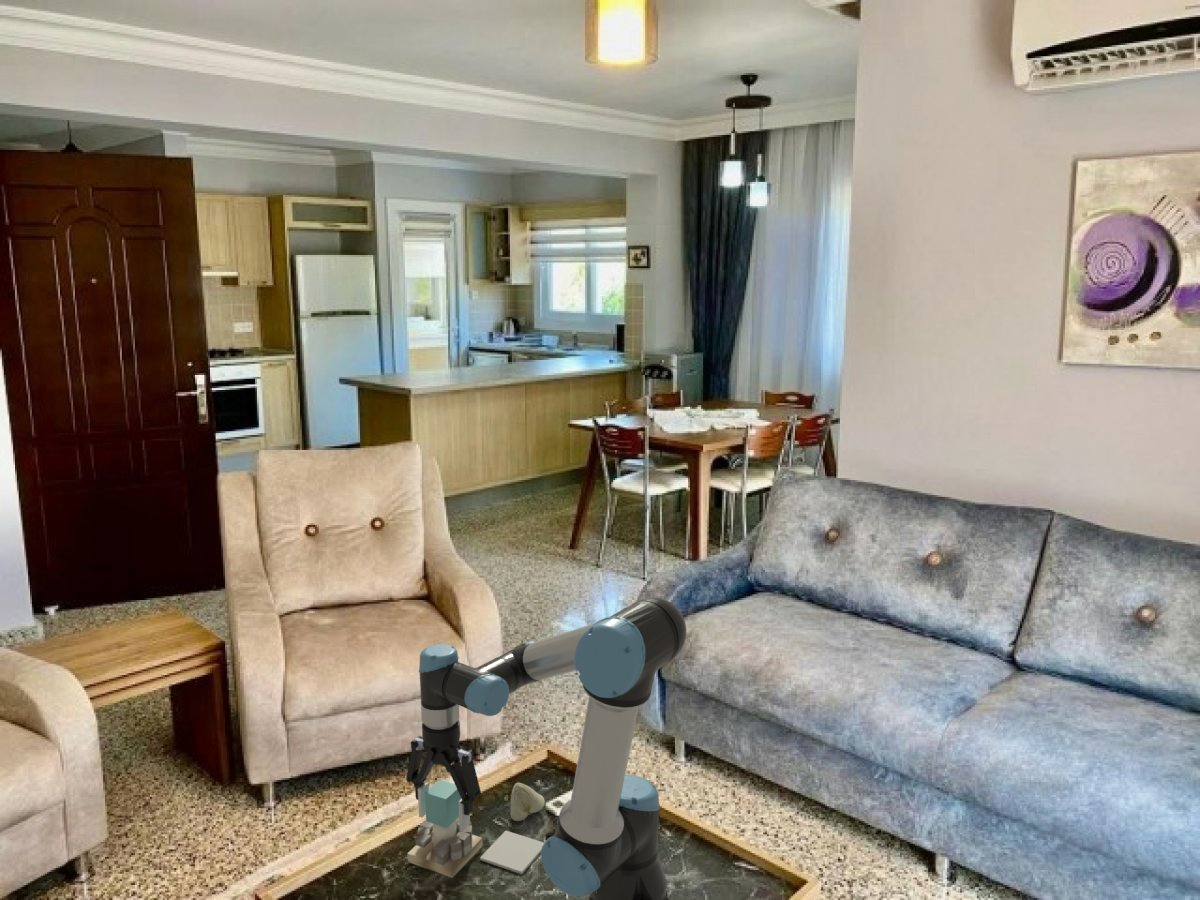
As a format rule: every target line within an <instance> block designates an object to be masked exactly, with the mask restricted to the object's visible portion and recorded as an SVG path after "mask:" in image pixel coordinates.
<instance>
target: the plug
mask: <svg viewBox="0 0 1200 900" xmlns="http://www.w3.org/2000/svg"><path fill="white" fill-rule="evenodd" d="M461 799H462V798H461V796H460V794H459V792H458V790H457V788H456V785H455V783H454V782H453V783H452V782H450V781H446V780H443V779H439V780H438V781H437V782H435V783H434V784H433V785H432V786H430V787H429V790H427V791H426V792H425V806H426V815H425V820H426V821H427V822H430V823H433V832H431V833H430V835H431V836H432V841H431V843H433V844H434V846H435V845H436V844H437V843H438V842H440V841H441V840H442V839H443V840H446V839H449V838H451V837H454V836H456V835H457V829H456V819H457V818H458V817H459V801H460V800H461ZM434 849H435V848H434Z"/></svg>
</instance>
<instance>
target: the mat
mask: <svg viewBox="0 0 1200 900" xmlns="http://www.w3.org/2000/svg"><path fill="white" fill-rule="evenodd" d="M544 843H545V842H543V841H539V840H538V839H537V840H536V839H534V838H530V837H527V836H524V835H521V834H518V833H515V832H511V831H510V830H509V831H508V830H505V831H504V832H503V833H502V834H501V835H500V836H499V837H498V838H497V839H496V840H495V841H494V842H493V843H492V844H491V845H490V846H489V847H488V849H486V851H485V852H484V853H483V854H482V855H481V856H480V857H479V859H480V860H479V861H482V862H485V863H487V864H491V865H493V866H497V867H499V868H503V869H505V870H508V871H511V872H514V873H517V874H520V875H523V874H524V873H525V872H526V871H527V869H528V868H529V867H530V866H531V864H532V863H533V862H534V861H535V860H536V859H537V857H539V855H541V850H542V846H543V845H544Z"/></svg>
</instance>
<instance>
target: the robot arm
mask: <svg viewBox="0 0 1200 900" xmlns="http://www.w3.org/2000/svg"><path fill="white" fill-rule="evenodd" d="M686 625H687V624H686V621H685V618H684V616H683V614H682V612H681V611H680V610H679V608H678V607H677V606H676V605H675V604H674V603H672V602H670V601H669V600H667V599H664V598H662V597H661V598H660V597H654V596H653V597H645V598H642V599H639V600H637V601H635V602H634V603H632V604H630V605H628V606H627V607H624V608H622V609H621V610H619V611H617V612H615V613H614V614H612V615H610V616H607V617H604V618H602V619H599V620H598V621H596V622H595V623H592V624H588V625H585V626H582V627H578V628H575V629H573V630H569V631H566V632H563V633H560V634H556V635H553V636H550V637H547V638H544V639H541V640H537V641H532V640H531V641H528V642H524V643H522V644H519V645H517V646H514V648H512V649H511V650H508V651H507V652H505V653H502V654H501V655H500V656H498V657H497V656H496V657H495V658H493V659H491V660H489V661H487V662H485V663H483V664H482V665H479V666H477V667H472V666H470V665H467V664H464V663H462V662H460V661H459V655H458V654H459V653H458V650H457V649H456V647H455V646H453V645H451V644H446V643H437V644H432V645H430V646H427V647H425V648H424V649H423V650H422V651H421V652H420V654H419V668H418V673H419V686H420V687H419V688H420V690H419V691H420V710H421V711H420V712H421V714H420V715H421V716H420V717H421V718H420V719H421V722H422V724H421V735H422V736H421V735H418V736H417V737H415V738H414V739H413V740H411V741H410V748H411V753H410V758H409V764H408V768H407V774H406V782H408V783H412V785H413V787H415V789H414V791H415V792H414V793H415V799H416V800H417V802H418V806H417V807H418V817H419V818H424V816H426V806H425V792H426V791H427V790H429V789H430V786H429V785H430V783H429V782H428V781H427V780H428V778H427V777H429V776H428V775H429V773H430V772H431V770H432V768H433V766H434V765H440V766H442V767H444V768H445V770H446V772H447V773H449V774H450V776H451V778H452V781H453V784H455V785H456V788H457V790H458V792H459V794H460V796H461V800H460V801H459V826H460V830H461V831H463V830H464V829H465V828H466V827H467V826H468V825H469V824H470V822H471V814H472V813H473V807H474V806H473V805H474V804H473V802H475V801H476V800H477V799H479V797H480V796H481V795H482V792H481V787H480V784H479V780H478V776H477V772H476V766H475V763H474V751H473V750H472V749H468V750H467V751H466V750H464V749H462V747H461V745H460V739H461V721H460V707H463V708H465V709H466V710H469V711H471V712H473V713H476V714H480V715H484V716H487V717H494V716H497V715H498V714H499V713H501V712H502V709H503V708H504V707H505V706H506V705H507V703H508V700H509V698H510V697H509V696H510V694H512V693H514V692H516V691H517V690H519V689H520V688H523V687H525V686H526V685H528V684H532V683H537V682H540V681H543V680H546V679H550V678H553V677H557V676H560V675H565V674H568V673H571V672H575V671H577V672H578V673H579V675H578V679H579V680H580V682H581V684H582V687H583V688H582V689H583V690H584V692H585V694H586V695H587V696H588V702H587V706H586V707H587V708H586V712H585V718H584V724H583V725H584V726H583V729H582V730H583V731H582V735H581V741H580V747H579V751H578V758H577V764H576V769H575V775H574V780H573V785H572V792H571V798H570V800H568V801H566V802H565V803H564V804H563V805H562V807H561V808H560V811H559V816H558V821H557V826H556V831H555V833H554V834H553V835H552V836H550V837H548V838H547V840H546V841H545V842H543V843H544V845H543V846H542V850H541V853H540V859H541V862H542V866H543V868H544V871H545V873H546V875H547V876H548V878H549V879H550V881H551V882H552V883H553V884H554V886H556V888H557V889H558V890H560V891H561V892H562V893H563V894H565V895H567V896H569V897H572V898H575V899H580V898H586V897H589V896H590V898H591V900H665V899H666V896H667V878H666V875H665V871H664V869H663V866H662V862H661V859H660V856H659V832H660V831H659V827H660V825H659V824H660V808H661V805H660V798H659V797H660V796H659V791H658V790H657V787H656V786H655V785H654V784H653V783H652V782H651V781H650V780H648V779H645V778H643V777H640V776H638V775H634V774H633V775H632V774H626V773H627V768H628V763H629V757H630V754H631V747H632V743H633V737H634V732H635V729H636V728H635V727H636V723H637V719H638V713H639V709H640V707H642V706H644V705H645V704H647V703H648V701H649V700H650V698H651V693H652V689H653V684H654V679H655V675H656V673H657V671H658V670H660V669H662V667H664V666H666V665H667V664H668V663H670V662H671V661H673V660H674V659H675V658H676V657H677V656H678V655H679V653H680V652H681V651H682V650H683V648H684V645H685V642H686V639H687V626H686ZM424 751H425V752H426V756H425V758H424V760H423V764H422V766H421V762H422V758H423V753H424Z"/></svg>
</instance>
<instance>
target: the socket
mask: <svg viewBox="0 0 1200 900" xmlns="http://www.w3.org/2000/svg"><path fill="white" fill-rule="evenodd" d="M456 829H457V835H456V836H454V837H451V838H449V839H446V840H443V839H442V840H441V841H440V842H438V843H437V844H436V845H435V846H434V844H433V843H431V841H432V836H431V835H430V833H431V832H433V823H430V822H427V821H426V819H425V820H424V821H423V822H422V823H420V825H419V827H418V829H417V833H416V834H417V835H416V836H417V837H416V839H415V845H414V847H413V848H411V849H410V850H409V851H408V852H407V853H406V854H407V862H408V863H409V864H412V865H416V866H418V867H421V868H422V869H423V868H424V869H426V870H429V871H432V872H435V873H438V874H441V875H442V876H443V875H444V876H446V877H449V878H451V879H452V878H453V879H454V877H455V876H456V875H457V873H459V872H460V871H461V870H462V868H464V866H466V865H467V864H468V862H469V861H470V860H471V859H472V858H473V857H474V856H475V855H476V854H477V853H478V852H479V851H480V850H481V848H483V837H481V836H478V835H476V834H473V825H472V822H471V821H470V824H469V825H468V826H467V827H466V828H465V829H464V830H463V831H461V830H460V826H459V817H458V818H457V819H456ZM434 848H435V849H434Z"/></svg>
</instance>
